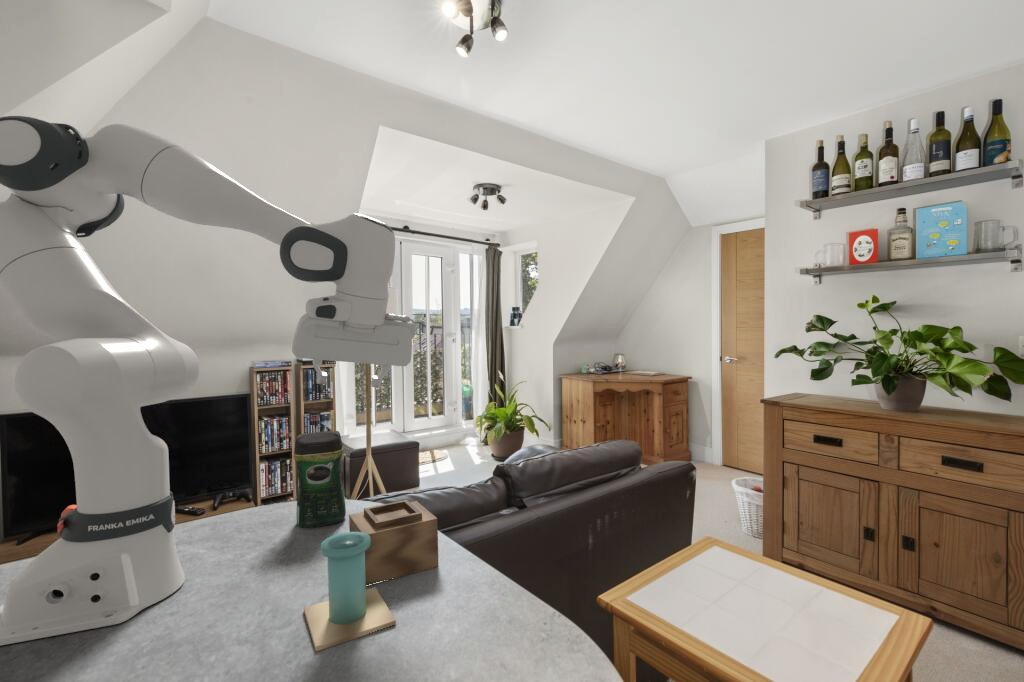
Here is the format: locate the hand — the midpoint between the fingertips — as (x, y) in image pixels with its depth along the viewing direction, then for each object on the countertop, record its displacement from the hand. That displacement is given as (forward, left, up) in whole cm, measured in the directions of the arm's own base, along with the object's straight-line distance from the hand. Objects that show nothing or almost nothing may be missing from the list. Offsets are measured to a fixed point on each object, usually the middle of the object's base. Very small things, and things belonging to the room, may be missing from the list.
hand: (349, 384), depth 88 cm
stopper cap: (-6, -22, -29) cm, 37 cm away
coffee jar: (-3, +17, -30) cm, 34 cm away
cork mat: (-6, -22, -30) cm, 37 cm away
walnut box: (+4, -10, -30) cm, 32 cm away
